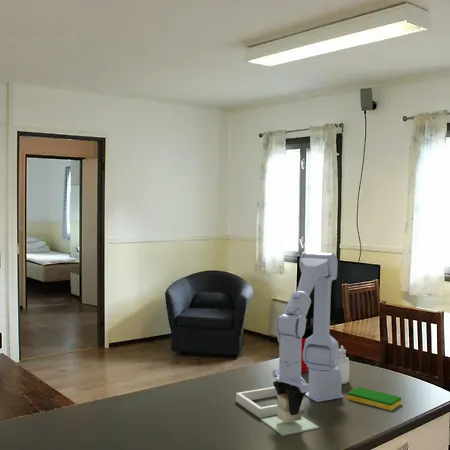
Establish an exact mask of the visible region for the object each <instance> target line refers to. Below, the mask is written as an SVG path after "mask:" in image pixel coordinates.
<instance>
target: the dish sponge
mask: <svg viewBox="0 0 450 450" xmlns="http://www.w3.org/2000/svg"><path fill="white" fill-rule="evenodd" d="M347 400H350V401H354V402H356V403H357V402H358V403H360V404H365V405H369V406H373V407H375V406H376V407H377V408H378V409H379V408H380V409H384V410H388V411H393V410H395V409H397V408H398V407H399V406H401V405H402V397H400V396H397V395H393V394H390V393H389V394H388V393H384V392H380V391H377V390H374V389H369V388H365V387H360V386H358V387H356V388H354V389H352V390H350V391H348V392H347Z"/></svg>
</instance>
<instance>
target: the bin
mask: <svg viewBox="0 0 450 450" xmlns="http://www.w3.org/2000/svg"><path fill="white" fill-rule="evenodd" d="M277 395H278V394H277V391H276V389H275V387H274V386H271V387H265V388H264V387H263V388H259V389H252V390H245V391H240V392H236V393H235V402H236V403H238V404H239V405H240V406H242V407H243V408H244V409H246V410H247V411H249V412H250V413H252V414H253V415H254V416H256V417H258V418H259V419H263V418H268V417H274V416H277V403H276V404H271V405H266V406H260V405H259V404H257V403H255V402H254V401H255V400H261V399H265V398H272V397H277ZM253 400H254V401H253ZM303 410H304V400H302V411H303Z"/></svg>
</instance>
